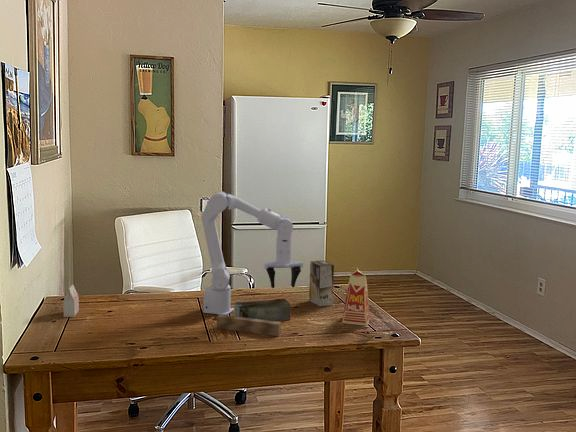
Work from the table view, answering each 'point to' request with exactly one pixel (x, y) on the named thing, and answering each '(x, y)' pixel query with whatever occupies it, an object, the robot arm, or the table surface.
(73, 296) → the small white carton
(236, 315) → the beverage carton
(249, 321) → the walnut board
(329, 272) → the coffee box
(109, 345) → the table surface
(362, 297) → the milk carton
